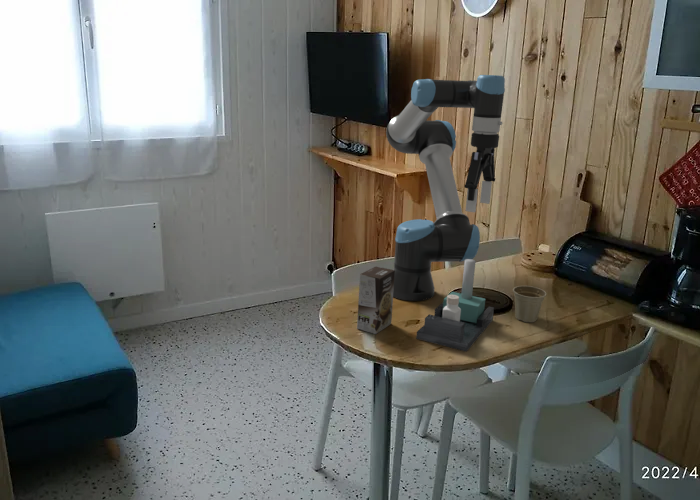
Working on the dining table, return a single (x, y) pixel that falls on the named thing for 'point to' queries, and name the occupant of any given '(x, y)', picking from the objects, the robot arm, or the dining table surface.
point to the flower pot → (528, 302)
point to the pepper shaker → (452, 308)
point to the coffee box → (375, 299)
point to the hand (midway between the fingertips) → (477, 207)
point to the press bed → (467, 336)
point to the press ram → (468, 295)
